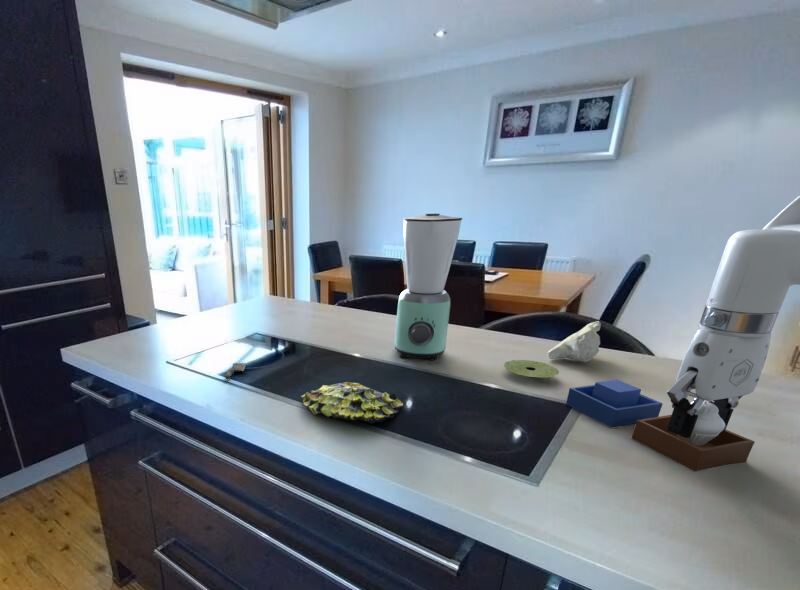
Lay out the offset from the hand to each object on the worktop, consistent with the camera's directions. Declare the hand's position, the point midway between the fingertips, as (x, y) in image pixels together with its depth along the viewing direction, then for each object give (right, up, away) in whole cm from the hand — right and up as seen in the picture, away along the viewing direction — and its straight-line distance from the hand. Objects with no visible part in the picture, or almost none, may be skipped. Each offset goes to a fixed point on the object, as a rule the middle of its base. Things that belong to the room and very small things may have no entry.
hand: (695, 429), depth 70 cm
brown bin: (0, -3, +1) cm, 4 cm away
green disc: (-9, +9, +32) cm, 34 cm away
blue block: (-3, +2, +14) cm, 14 cm away
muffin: (0, -2, +1) cm, 2 cm away
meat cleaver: (-78, +10, +38) cm, 88 cm away
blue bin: (-3, +2, +14) cm, 15 cm away
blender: (-30, +16, +48) cm, 59 cm away
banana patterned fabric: (-53, +3, +19) cm, 56 cm away
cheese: (+9, +14, +43) cm, 46 cm away
